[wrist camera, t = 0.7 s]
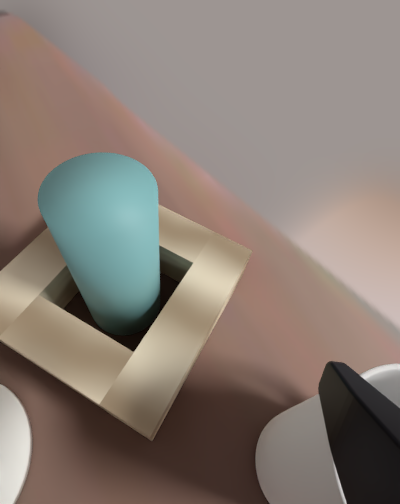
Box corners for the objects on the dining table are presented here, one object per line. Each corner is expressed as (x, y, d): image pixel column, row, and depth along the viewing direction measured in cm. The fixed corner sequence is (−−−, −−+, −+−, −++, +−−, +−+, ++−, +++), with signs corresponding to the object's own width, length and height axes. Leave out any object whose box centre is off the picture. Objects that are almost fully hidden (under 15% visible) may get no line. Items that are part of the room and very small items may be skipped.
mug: (289, 561, 18) (446, 688, 8) (230, 437, 21) (291, 416, 11) (412, 465, 21) (637, 469, 11) (346, 369, 24) (475, 304, 14)
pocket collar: (151, 441, 20) (149, 437, 17) (-13, 332, 23) (-43, 311, 20) (241, 275, 28) (252, 250, 24) (108, 207, 30) (101, 176, 27)
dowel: (134, 348, 24) (111, 259, 13) (75, 313, 25) (10, 204, 14) (173, 291, 26) (179, 180, 16) (118, 261, 27) (90, 138, 17)
